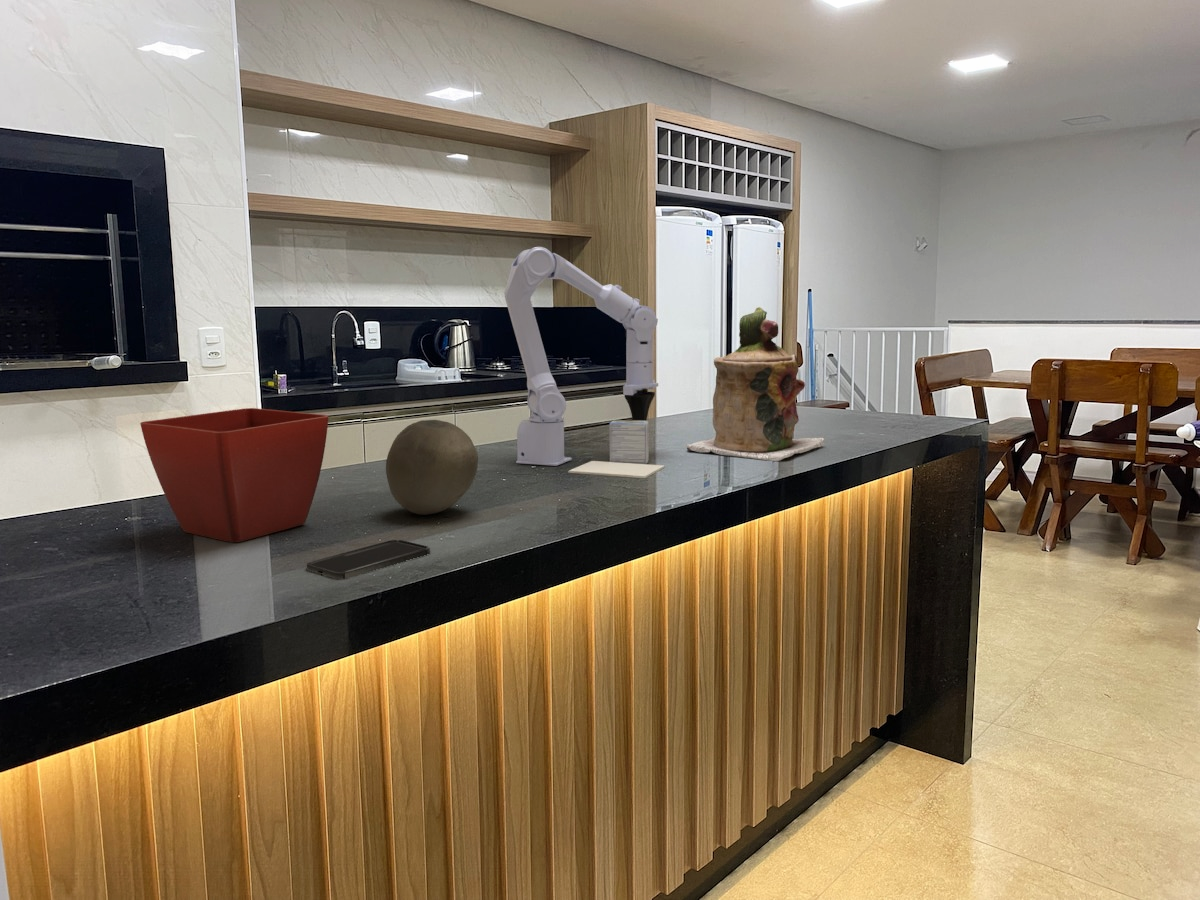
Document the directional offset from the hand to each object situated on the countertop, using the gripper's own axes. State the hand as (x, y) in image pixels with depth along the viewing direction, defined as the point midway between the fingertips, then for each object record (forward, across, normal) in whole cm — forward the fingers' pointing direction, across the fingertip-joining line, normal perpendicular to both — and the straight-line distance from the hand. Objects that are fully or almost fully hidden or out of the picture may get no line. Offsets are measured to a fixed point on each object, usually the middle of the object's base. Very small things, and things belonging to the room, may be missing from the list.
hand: (639, 425), depth 194 cm
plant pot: (+7, -80, +34) cm, 87 cm away
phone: (+8, -87, +6) cm, 87 cm away
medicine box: (+7, -6, 0) cm, 10 cm away
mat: (+7, -16, -1) cm, 17 cm away
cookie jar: (+7, +19, -21) cm, 29 cm away
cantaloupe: (+7, -61, +13) cm, 63 cm away
